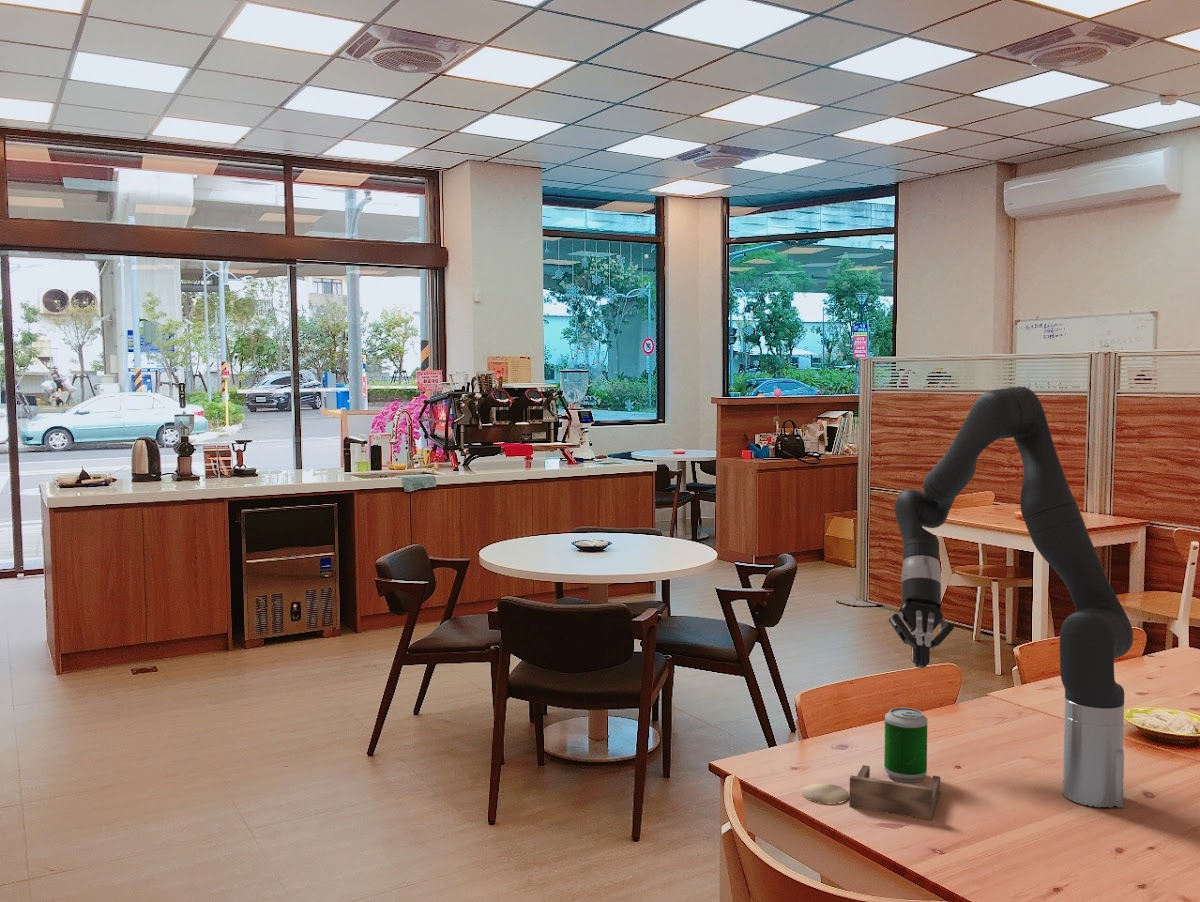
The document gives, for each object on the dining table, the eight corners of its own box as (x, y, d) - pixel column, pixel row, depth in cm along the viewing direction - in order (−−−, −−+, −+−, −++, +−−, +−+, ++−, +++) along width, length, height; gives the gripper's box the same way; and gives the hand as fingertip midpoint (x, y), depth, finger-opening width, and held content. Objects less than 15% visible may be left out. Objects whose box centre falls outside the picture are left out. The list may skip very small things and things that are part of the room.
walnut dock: (939, 793, 175) (940, 765, 175) (931, 820, 164) (931, 790, 164) (862, 781, 181) (863, 754, 180) (849, 806, 169) (849, 777, 169)
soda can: (929, 785, 179) (930, 719, 178) (885, 782, 180) (886, 717, 180) (924, 770, 186) (925, 707, 185) (882, 767, 188) (883, 704, 187)
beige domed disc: (852, 790, 176) (852, 787, 176) (843, 807, 169) (843, 804, 169) (808, 783, 180) (808, 780, 180) (797, 799, 172) (797, 796, 172)
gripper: (896, 570, 196) (895, 656, 188) (961, 582, 197) (962, 668, 189) (882, 582, 203) (880, 665, 195) (945, 594, 203) (946, 677, 195)
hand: (921, 666), depth 192 cm, fingers closed
